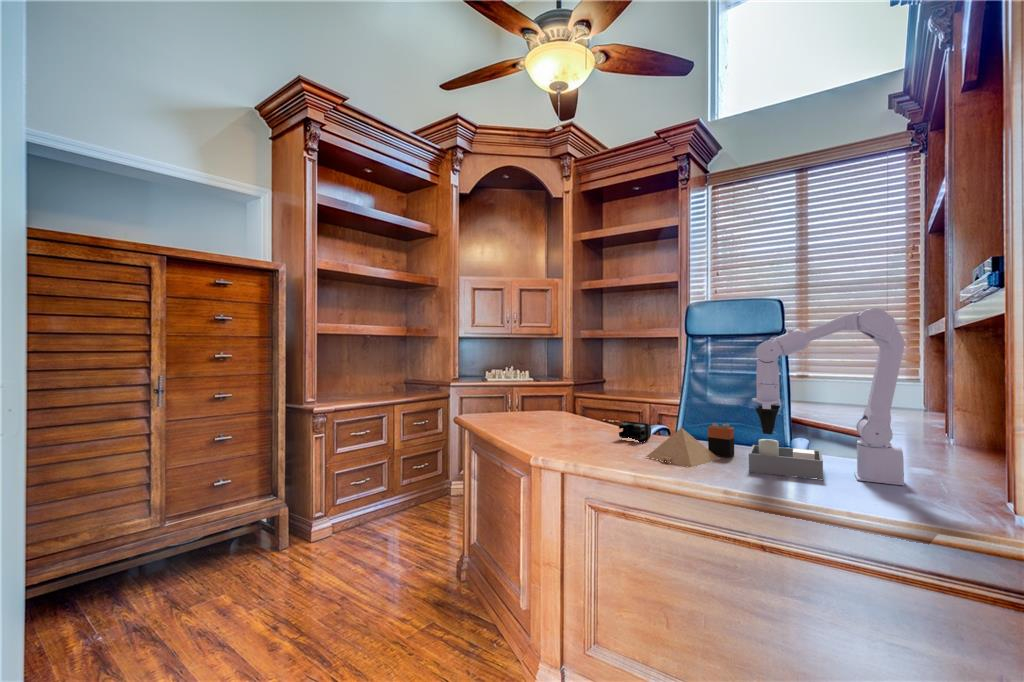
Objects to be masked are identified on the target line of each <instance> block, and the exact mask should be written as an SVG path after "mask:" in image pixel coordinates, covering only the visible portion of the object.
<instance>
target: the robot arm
mask: <svg viewBox="0 0 1024 682" xmlns="http://www.w3.org/2000/svg"><path fill="white" fill-rule="evenodd" d="M841 331H859V332H860V333H862V334H864V335H866V336H867V337H869V338H870V339H871V340H872V341H873V342H874V343H875V344H876V345H878V347H879V348H878V353H877V358H876V363H875V367H874V372H873V377H872V381H871V385H870V391H869V394H868V399H867V405H866V406H865V408H864V411H863V414H862V416H861V418H860V419H859V420H858V421H857V423H856V432H857V433H858V435H859V436H860V438H859V439H858V440H857V441H856V462H857V463H856V465H857V467H856V469H857V471H854V472H853V473H854V475H855V478H856V480H857V481H861V482H871V483H879V484H886V485H887V484H888V485H897V486H905V469H904V467H905V466H904V452H903V451H904V450H903V447H900V446H893V443H891V442H892V440H893V436H894V435H893V434H894V433H893V430H892V427H891V422H892V416H891V415H892V413H891V408H892V406H893V399H894V395H895V390H896V388H897V387H896V386H897V382H898V377H899V372H900V368H901V363H902V358H903V353H904V350H905V347H906V346H905V344H906V342H905V339H904V336H903V335H902V333H901V331H900V329H899V328H898V326H897V323H896V321H895V318H894V317H893V316H892V315H891V314H890V313H888V312H887V311H885V310H884V309H881V308H877V307H873V308H870V307H869V308H868V309H866V310H862V311H857V312H853V313H848V314H845V315H842V316H839V317H836V318H834V319H832V320H830V321H827V322H825V323H822V324H819V325H818V326H815V327H813V328H810V329H807V330H801V329H799V328H796V329H792V328H791V329H788V330H787V332H786V333H784V334H782V335H778V336H776V337H774V336H771V337H770V338H769V340H770V341H769V340H765V341H763V342H762V343H760V344H758V345H757V346H756V349H755V354H756V355H755V356H756V357H757V359H756V365H757V366H756V369H755V371H756V374H755V375H756V398H755V397H754V398H751V401H752V402H756V403H758V405H757V407H755V412H756V413H757V416H758V417H759V421H760V425H761V429H762V434H763V435H773V432H774V428H775V424H776V420H777V419H776V418H777V415H778V413H779V412H780V408H781V405H780V403H781V399H780V367H779V365H778V364H779V360H778V359H779V357H783V358H784V357H786V356H789V355H792V354H794V353H797V352H798V353H799V352H800V351H803V350H805V349H807V348H808V347H809V345H810V344H811V342H813V341H815V340H818V339H820V338H824V337H827V336H831V335H832V334H835V333H839V332H841Z"/></svg>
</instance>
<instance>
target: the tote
mask: <svg viewBox="0 0 1024 682" xmlns="http://www.w3.org/2000/svg"><path fill="white" fill-rule="evenodd" d="M793 449H794V448H791V447H779V456H772V455H762V454H759V444H758V445H757V444H752V445H751V448H750V450H749V451H748V472H749V473H757V474H764V473H765V475H766V474H767V475H773V474H775V475H774V476H781V475H788V476H787V477H790V476H797V477H796V478H798V477H806V478H805V479H807V478H817V479H823V480H824V459H823V454H822V451H821V450H814V449H813V450H814V454H815V460H813V459H802V458H793Z"/></svg>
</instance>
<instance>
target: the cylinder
mask: <svg viewBox="0 0 1024 682" xmlns="http://www.w3.org/2000/svg"><path fill="white" fill-rule="evenodd" d="M758 445H759V454H762V455H772V456H779V446H780V445H779V440H776V439H771V438H769V439H768V438H762V439H761V438H760V439H758Z"/></svg>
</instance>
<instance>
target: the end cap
mask: <svg viewBox="0 0 1024 682" xmlns="http://www.w3.org/2000/svg"><path fill="white" fill-rule="evenodd" d="M618 429H619V430H621V431H619V432H618V436H619V438H628V437H629V438H632V439H635V440H638V441H639V442H644V441H647V442H648V441H649V440H650V438H651V436H652V426H651V425H650V423H646V422H638V421H631V420H629V421H628V420H623V421H622V423H619V424H618ZM644 443H645V442H644Z"/></svg>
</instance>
